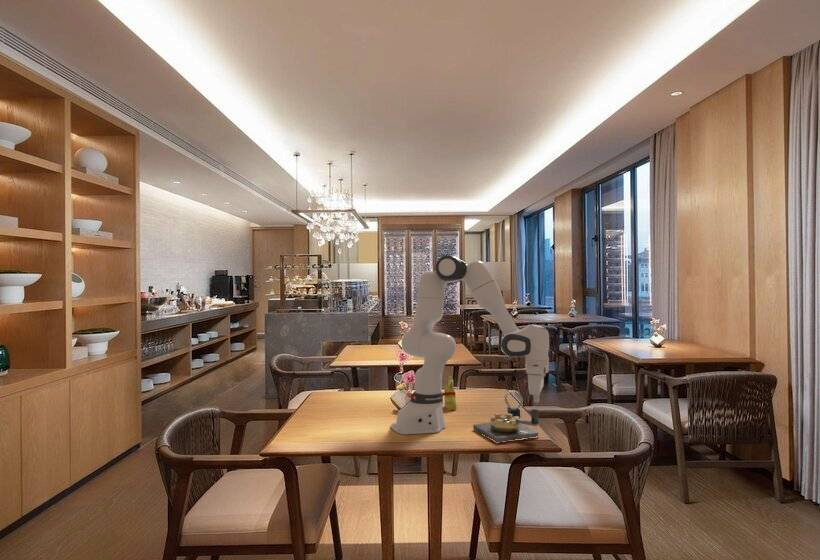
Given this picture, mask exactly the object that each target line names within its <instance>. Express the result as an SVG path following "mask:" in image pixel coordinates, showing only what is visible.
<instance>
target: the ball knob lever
mask: <svg viewBox="0 0 820 560" xmlns="http://www.w3.org/2000/svg"><path fill="white" fill-rule="evenodd" d="M530 410H531V411H530V412H531V413H530V414H531V416H530V417H531V419H530V420H529V419H524V418H520V417H519V416H514V417H513V414H508V413H505V415H502V414H501V413H499V412H497V413H493V415H490V416H489V417H490V422H491V429H493V430H495V431H499V432H515V431H518V430H519V424H521V425H526V426H533V427H537V426H539V409H538V408H537V409H535V408H532V409H530Z"/></svg>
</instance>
